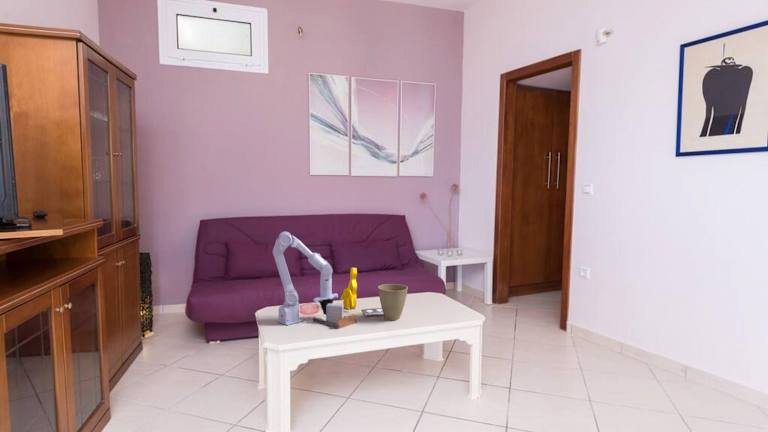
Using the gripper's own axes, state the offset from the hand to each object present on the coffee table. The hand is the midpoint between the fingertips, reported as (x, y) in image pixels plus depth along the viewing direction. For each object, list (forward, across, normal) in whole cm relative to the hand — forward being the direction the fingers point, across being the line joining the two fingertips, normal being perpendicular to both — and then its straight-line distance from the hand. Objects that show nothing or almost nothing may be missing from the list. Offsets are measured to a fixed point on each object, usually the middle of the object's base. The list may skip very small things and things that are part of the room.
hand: (326, 314), depth 218 cm
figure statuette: (+3, +22, +6) cm, 23 cm away
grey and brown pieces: (+2, 0, -6) cm, 7 cm away
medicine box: (+3, 0, -7) cm, 7 cm away
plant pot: (+3, +24, -24) cm, 34 cm away
